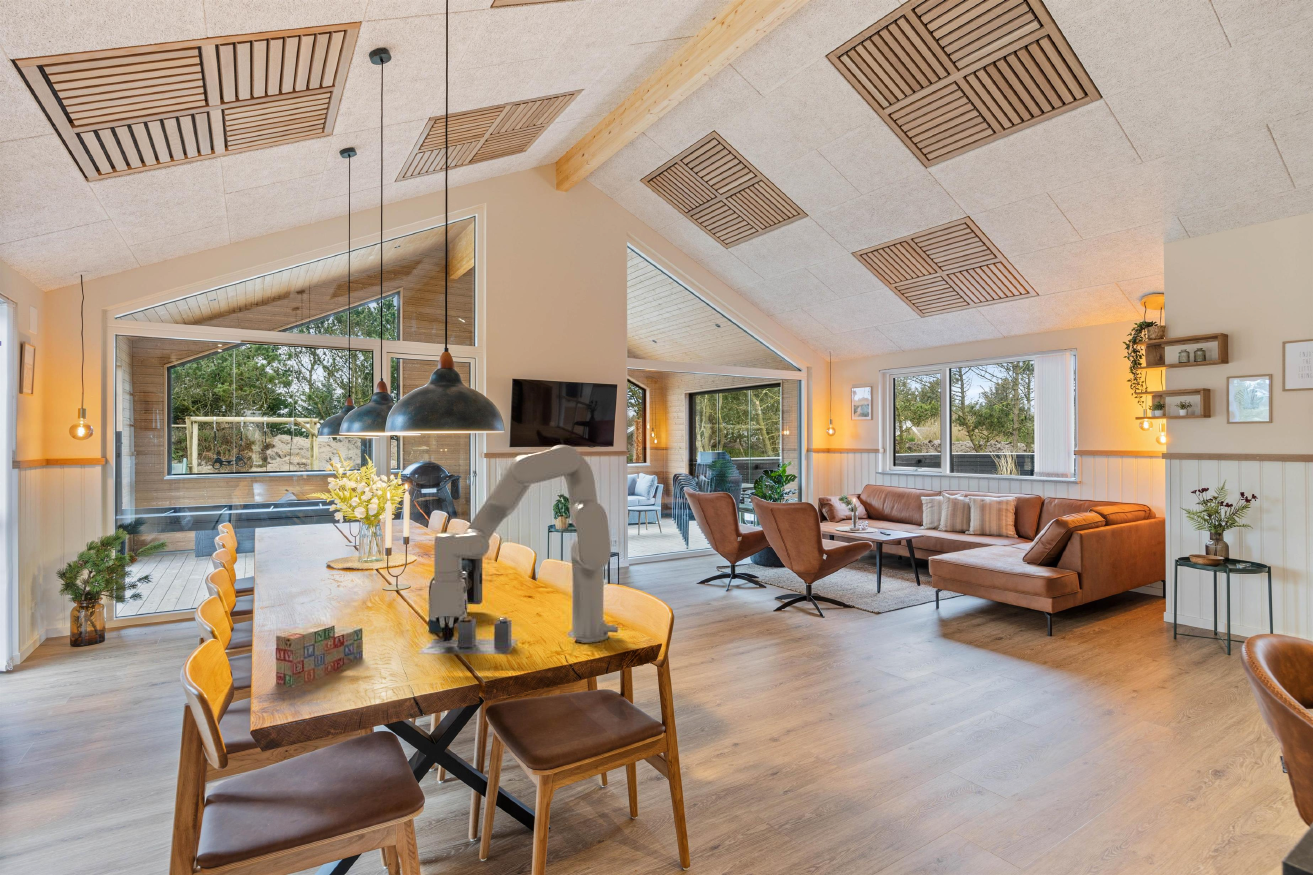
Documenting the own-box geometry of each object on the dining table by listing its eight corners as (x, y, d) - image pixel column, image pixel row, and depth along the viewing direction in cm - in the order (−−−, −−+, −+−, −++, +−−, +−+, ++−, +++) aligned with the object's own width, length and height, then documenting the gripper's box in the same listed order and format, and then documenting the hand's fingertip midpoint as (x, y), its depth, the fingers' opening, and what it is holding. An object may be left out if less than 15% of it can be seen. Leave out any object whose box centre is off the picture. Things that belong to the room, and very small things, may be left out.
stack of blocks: (346, 658, 189) (346, 614, 189) (363, 661, 186) (363, 616, 186) (275, 683, 169) (275, 634, 169) (292, 687, 167) (292, 637, 167)
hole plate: (518, 642, 203) (518, 638, 203) (507, 658, 189) (507, 653, 189) (434, 642, 203) (434, 638, 203) (417, 657, 189) (417, 653, 189)
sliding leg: (475, 642, 198) (475, 615, 198) (471, 647, 194) (471, 618, 194) (461, 642, 198) (461, 615, 198) (457, 646, 194) (457, 618, 194)
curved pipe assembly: (443, 640, 206) (443, 569, 206) (415, 639, 206) (415, 569, 206) (482, 610, 240) (482, 550, 240) (458, 610, 241) (458, 549, 241)
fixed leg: (511, 644, 198) (511, 616, 198) (508, 648, 194) (508, 620, 194) (497, 643, 198) (497, 616, 198) (494, 648, 194) (494, 620, 194)
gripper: (477, 573, 200) (477, 636, 200) (426, 573, 200) (426, 636, 200) (470, 578, 192) (470, 644, 192) (417, 578, 192) (417, 643, 192)
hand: (447, 639), depth 196 cm, fingers closed
